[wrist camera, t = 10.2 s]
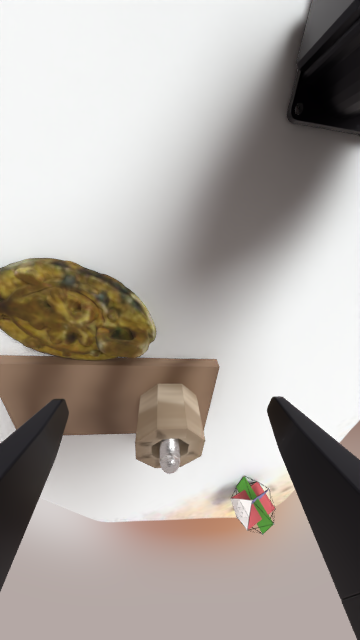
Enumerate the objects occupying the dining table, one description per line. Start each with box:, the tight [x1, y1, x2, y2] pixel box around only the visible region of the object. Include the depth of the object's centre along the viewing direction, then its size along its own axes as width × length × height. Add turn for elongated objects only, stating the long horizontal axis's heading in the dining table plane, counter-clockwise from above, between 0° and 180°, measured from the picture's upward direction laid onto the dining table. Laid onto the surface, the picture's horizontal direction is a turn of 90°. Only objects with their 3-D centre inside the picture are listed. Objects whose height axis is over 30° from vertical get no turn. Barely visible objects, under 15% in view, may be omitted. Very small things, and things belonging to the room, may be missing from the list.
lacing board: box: [0, 355, 219, 435], centre depth 22 cm, size 22×11×1 cm, turn 85°
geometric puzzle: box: [230, 475, 276, 535], centre depth 33 cm, size 7×7×8 cm
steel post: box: [160, 439, 180, 474], centre depth 19 cm, size 2×2×7 cm
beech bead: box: [135, 384, 205, 468], centre depth 20 cm, size 6×6×5 cm
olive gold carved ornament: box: [0, 258, 156, 361], centre depth 16 cm, size 9×5×15 cm
